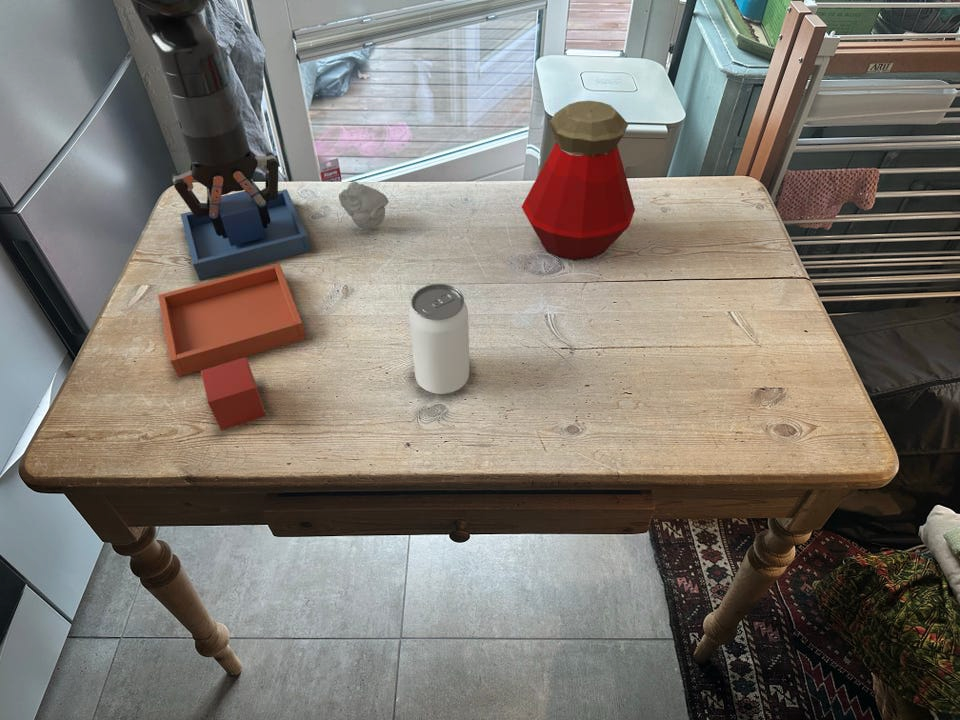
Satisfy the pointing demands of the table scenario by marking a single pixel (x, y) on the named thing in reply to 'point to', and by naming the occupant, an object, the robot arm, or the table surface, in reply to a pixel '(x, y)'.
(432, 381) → the can
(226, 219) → the blue block
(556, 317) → the table surface
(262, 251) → the blue tray
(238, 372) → the red block
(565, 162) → the bottle
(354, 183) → the frog figurine
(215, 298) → the orange tray
